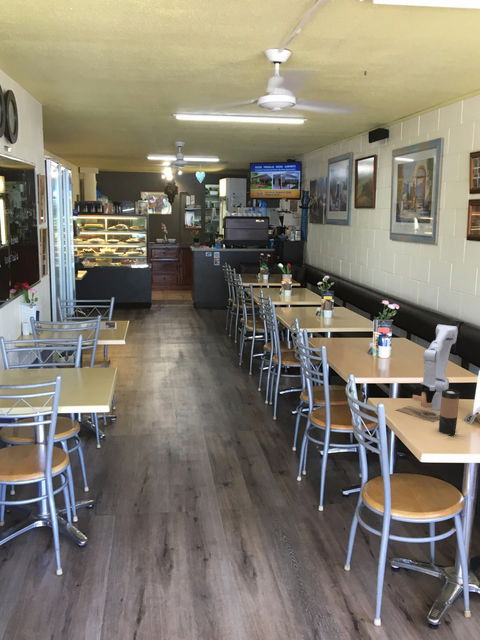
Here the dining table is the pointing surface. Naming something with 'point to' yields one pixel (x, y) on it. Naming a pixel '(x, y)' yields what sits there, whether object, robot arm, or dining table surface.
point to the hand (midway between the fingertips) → (427, 400)
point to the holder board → (420, 413)
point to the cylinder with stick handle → (422, 400)
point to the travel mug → (448, 411)
